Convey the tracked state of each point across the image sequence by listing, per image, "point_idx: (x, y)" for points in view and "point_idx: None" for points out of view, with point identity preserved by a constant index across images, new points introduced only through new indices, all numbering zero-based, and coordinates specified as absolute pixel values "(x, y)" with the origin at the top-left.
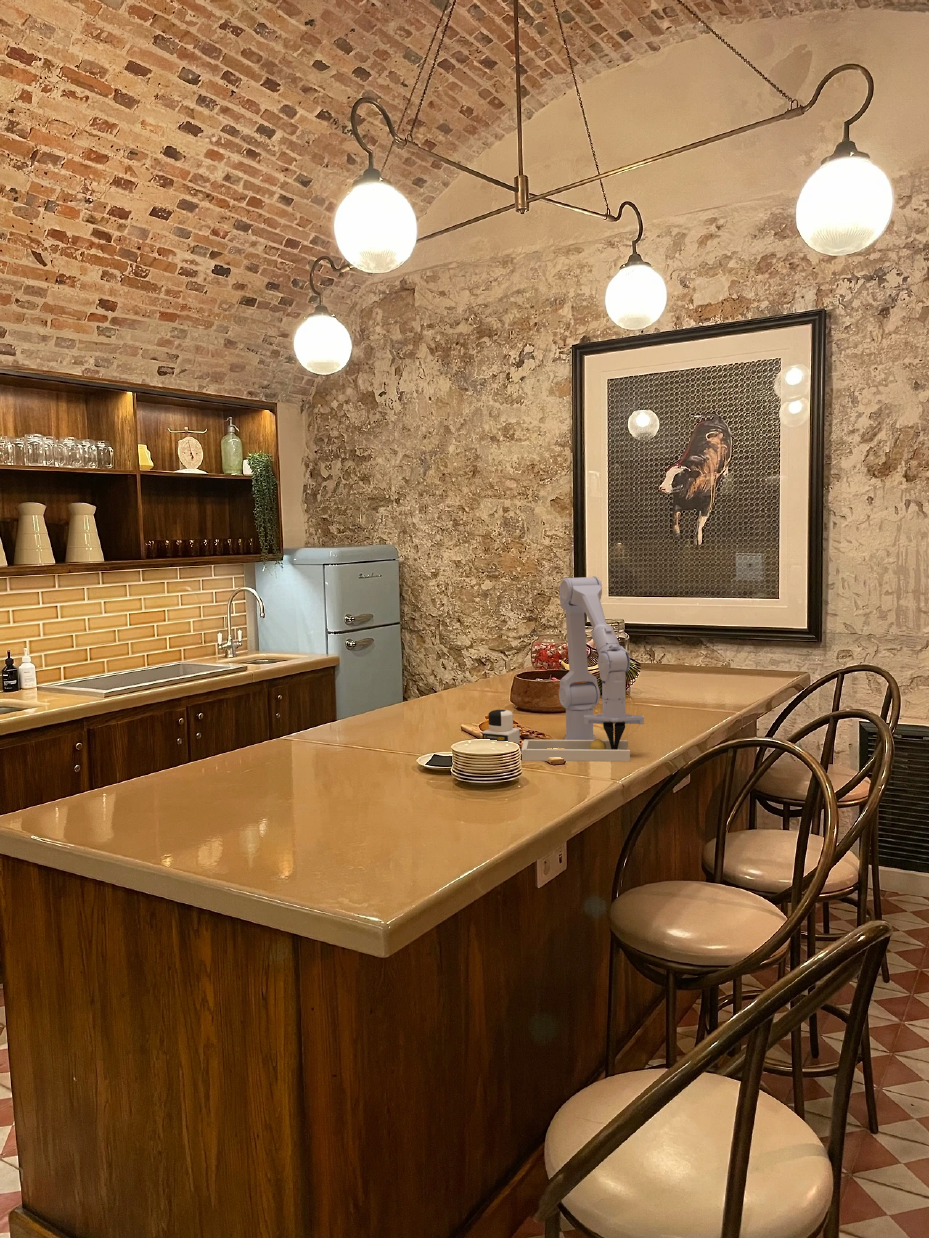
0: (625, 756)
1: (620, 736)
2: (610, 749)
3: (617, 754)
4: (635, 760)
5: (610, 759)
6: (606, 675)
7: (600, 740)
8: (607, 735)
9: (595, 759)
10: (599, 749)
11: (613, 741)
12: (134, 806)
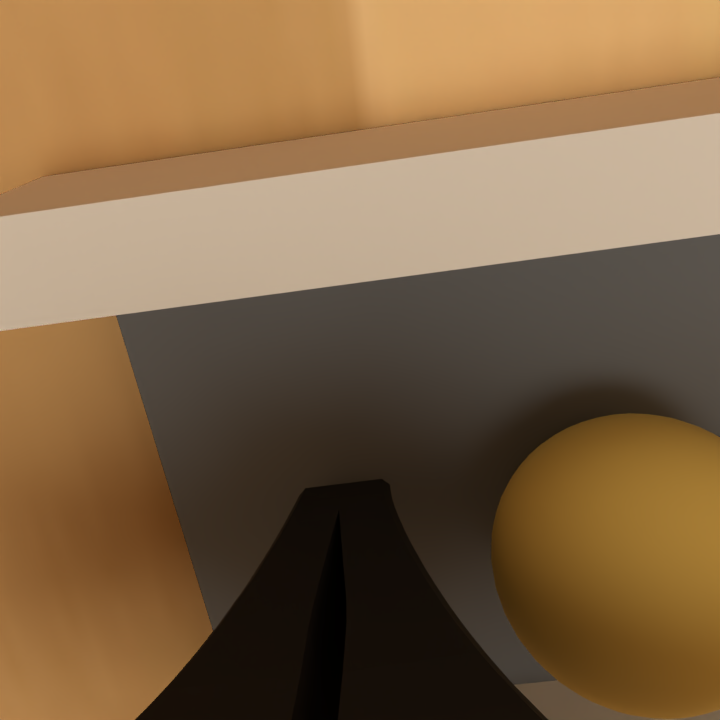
0: (76, 188)
1: (155, 705)
2: None
3: (225, 173)
4: (14, 365)
5: (372, 136)
6: None
7: (639, 653)
8: (514, 688)
9: (660, 90)
10: (611, 441)
11: (349, 599)
12: None
